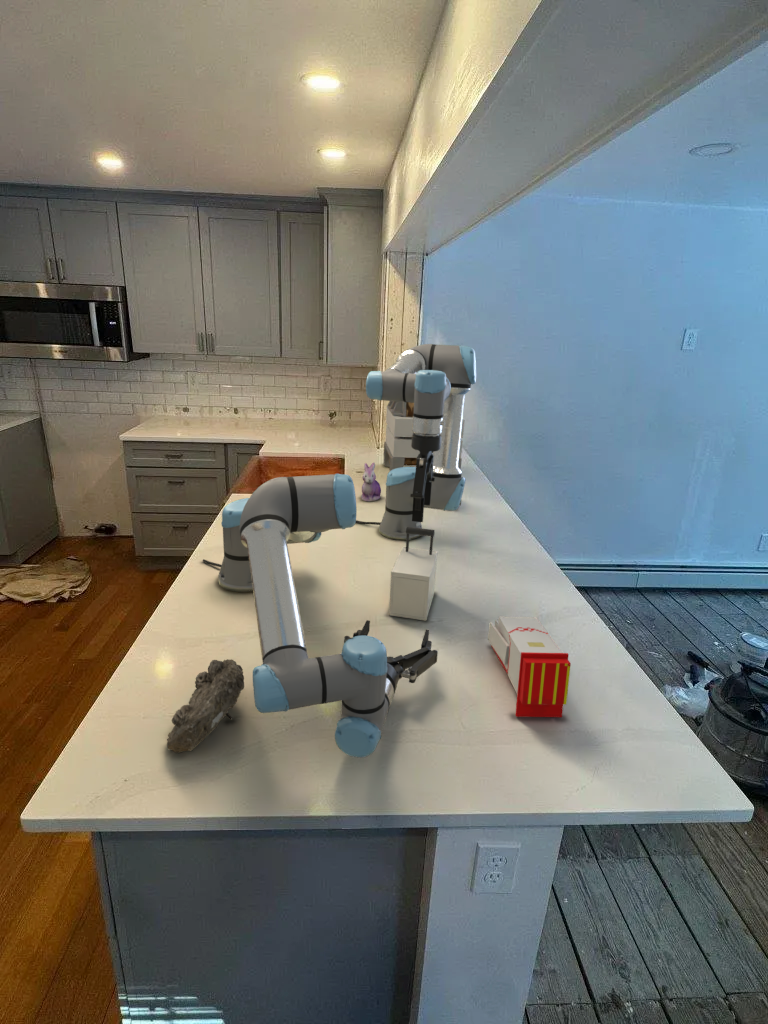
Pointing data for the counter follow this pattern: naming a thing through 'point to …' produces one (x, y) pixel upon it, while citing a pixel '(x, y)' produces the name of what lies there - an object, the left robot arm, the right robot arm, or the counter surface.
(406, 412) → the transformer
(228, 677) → the fossil
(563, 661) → the toy
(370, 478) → the figurine
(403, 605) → the white open box
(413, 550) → the lid
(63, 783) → the counter surface
